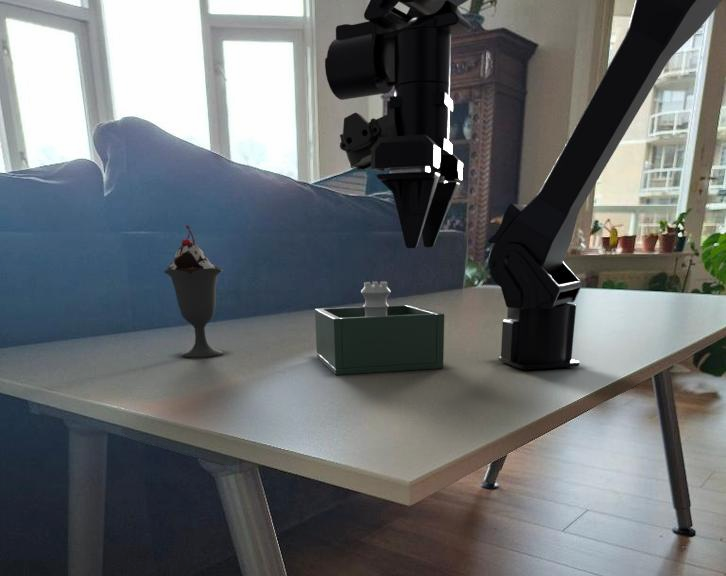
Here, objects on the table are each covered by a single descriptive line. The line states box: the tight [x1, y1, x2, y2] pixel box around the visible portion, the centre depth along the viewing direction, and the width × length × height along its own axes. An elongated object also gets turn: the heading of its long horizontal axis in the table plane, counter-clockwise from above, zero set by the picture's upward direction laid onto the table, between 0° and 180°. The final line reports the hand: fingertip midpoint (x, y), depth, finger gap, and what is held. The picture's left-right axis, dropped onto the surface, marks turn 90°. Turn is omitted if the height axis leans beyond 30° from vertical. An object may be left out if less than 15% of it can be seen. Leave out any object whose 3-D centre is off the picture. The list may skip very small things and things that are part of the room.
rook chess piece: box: [360, 281, 392, 317], centre depth 73 cm, size 4×4×8 cm
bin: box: [314, 304, 445, 376], centre depth 73 cm, size 12×12×6 cm
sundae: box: [164, 224, 224, 359], centre depth 80 cm, size 7×7×15 cm
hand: (420, 247), depth 74 cm, fingers open, 9 cm apart
